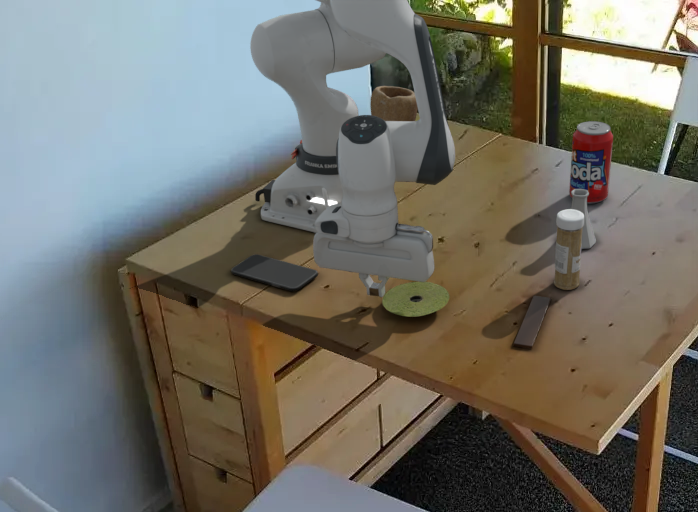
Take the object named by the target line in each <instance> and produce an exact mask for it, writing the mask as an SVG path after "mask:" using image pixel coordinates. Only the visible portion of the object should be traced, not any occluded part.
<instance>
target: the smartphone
mask: <svg viewBox="0 0 698 512" xmlns="http://www.w3.org/2000/svg"><path fill="white" fill-rule="evenodd" d="M230 273H231V275H233V276H234V275H235V276H238V277H241V278H244V279H248V280H251V281H255V282H258V283H260V284H261V283H262V284H264V285H269V286H271V287H276V288H279V289H282V290H285V291H289V292H297V291H299V290H301V289H302V288H303V287H304V286H306V285H307V284H309V283H311V281H312V280H315V278H317V277H318V275H319V272H318V270H316V269H313V268H310V267H307V266H302V265H298V264H295V263H291V262H288V261H283V260H280V259H277V258H272V257H269V256H267V255H261V254H258V253H257V254H252V255H249V257H247V258H245V259H244V260H242V261H240V262H239V263H238V264H236V265H234V267H232V268H231V270H230Z"/></svg>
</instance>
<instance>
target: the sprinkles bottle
mask: <svg viewBox="0 0 698 512" xmlns="http://www.w3.org/2000/svg"><path fill="white" fill-rule="evenodd" d="M555 220H556V223H555V224H556V240H555V257H554V278H553V285H554V286H555V287H556V288H558V289H560V290H562V291H563V290H564V291H570V290H574V289H576V288H578V287H579V286H580V283H581V282H580V271H581V270H580V269H581V260H582V259H581V258H582V249H581V245H582V244H581V240H582V228H583V226H584V214H583V213H582V212H580V211H578V210H574V209H571V208H568V209H567V208H565V209H562V210H560V211H558V212H557V214H556V219H555Z"/></svg>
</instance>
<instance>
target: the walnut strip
mask: <svg viewBox="0 0 698 512" xmlns="http://www.w3.org/2000/svg"><path fill="white" fill-rule="evenodd" d="M551 301H552V297H548V296H541V295H533V297H532V299H531V301H530V304H529V306H528V309H527V311H526V314H525V316H524V317H523V321H522V323H521V325H520V327H519V330H518V332H517V335H516V337H515V339H514V342H513V347H514V348H515V347H516V348H523V349H529V350H530V349H531V350H533V349H534V348H533V347H534V345H535V342H536V340H537V338H538V335H539V332H540V330H541V327H542V324H543V323H544V320H545V317H546V314H547V312H548V309H549V307H550V305H551Z"/></svg>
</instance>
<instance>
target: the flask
mask: <svg viewBox="0 0 698 512" xmlns="http://www.w3.org/2000/svg"><path fill="white" fill-rule="evenodd" d="M571 194H572V196H573V198H572V197H571V198H572V199H571V205H570V209H574V210H578V211H580V212H582V213H583V214H584V226H583V228H582V240H581V244H582V245H581V250H583V249H591V248H592V247H593V246H594V245H595V244H596V242H597V240H596V235H595V233H594V229H593V225H592V223H591V219H590V216H589V212H588V204H587V196H588V195H589V192H588V190H585V189H574V190H573V191H572V192H571Z"/></svg>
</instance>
